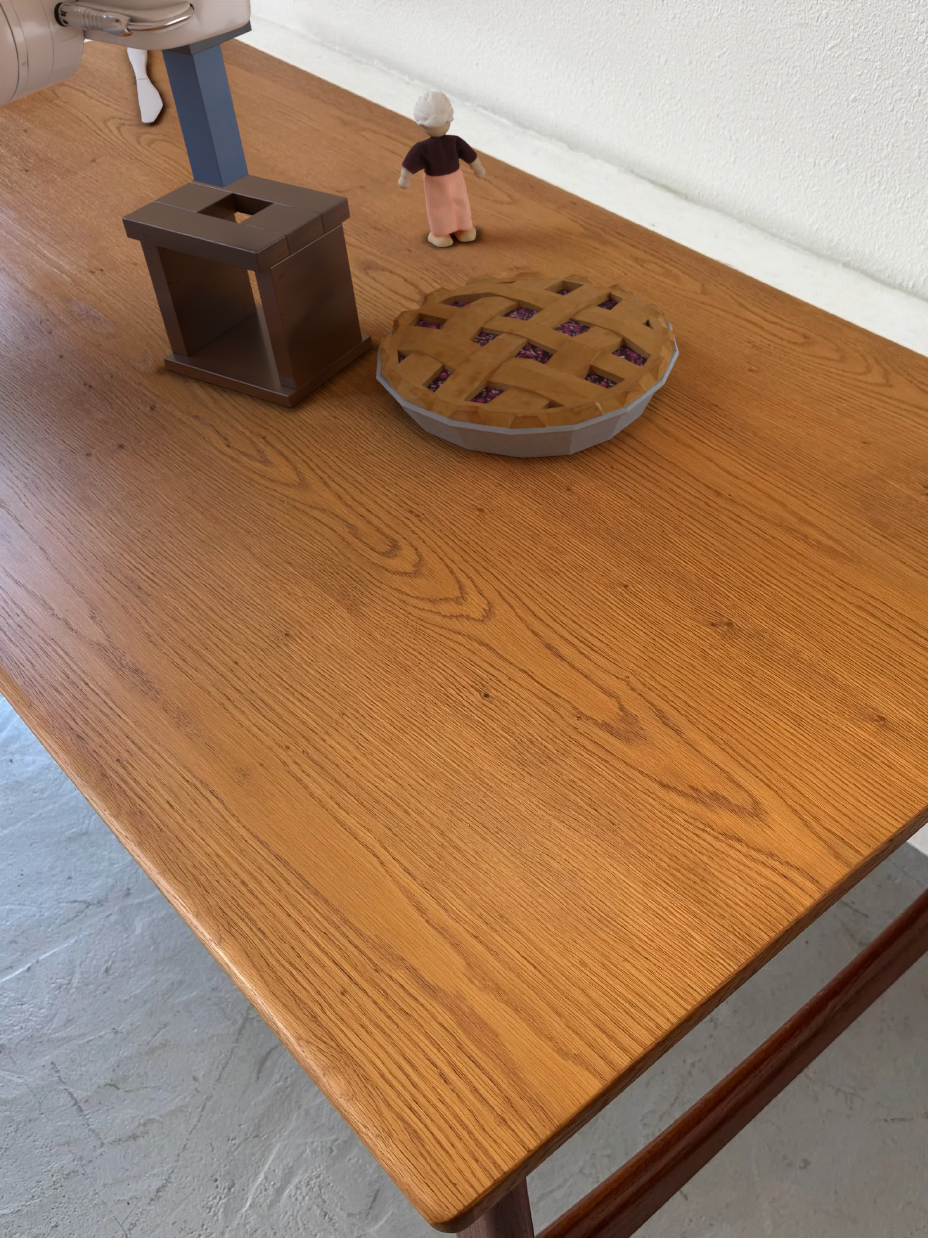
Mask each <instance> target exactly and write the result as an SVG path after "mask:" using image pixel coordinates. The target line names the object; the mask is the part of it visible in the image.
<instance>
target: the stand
mask: <svg viewBox="0 0 928 1238" xmlns="http://www.w3.org/2000/svg"><path fill="white" fill-rule="evenodd" d="M350 211H351V210H350V205H349V199H348V197H346V196H342V195H337V194H333V193H329V192H325V191H321V190H316V189H312V188H307V187H303V186H298V185H296V184H295V185H294V184H290V183H286V182H283V181H278V180H273V179H269V178H265V177H261V176H256V175H252V174H248V175H246V176H244V177H242V178H240V179H238V180H237V181H235V182H233V183H231V184H229V185H227V186H225V187H219V186H215V185H211V184H206V183H202V182H198V181H195V180H194V179H193V180H191V181H190V182H187V183H184V184H183V185H182V186H179V187H178V188H175V189H174V190H172V191H169V192H168V193H166V194H163V195H162V196H160V197H158V198H157V199H154V200H153V201H151V202H149V203H147V204H146V205H143V206H142V207H141V206H140V207H139V208H138V209H136V210H134V211H132V212H130V213H127V214H125V215H124V216H122V217H121V221H122V224H123V227H124V231H125V234H126V237H127V238H128V239H131V240H135V241H138V242H139V243H140V246H141V250H142V253H143V255H144V256H143V257H144V261H145V263H146V267H147V270H148V273H149V276H150V280H151V284H152V287H153V288H152V289H153V291H154V294H155V298H156V301H157V305H158V308H159V312H160V314H161V318H162V321H163V325H164V329H165V332H166V335H167V339H168V342H169V343H168V344H169V346H170V350H171V352H170V353H169V354H167V355H166V356H164V357H162V358H163V362H164V366H165V369H166V370H167V371H170V372H174V373H177V374H180V375H184V376H186V377H190V378H193V379H196V380H200V381H203V382H206V383H209V384H213V385H216V386H219V387H222V388H225V389H228V390H232V391H235V392H239V393H242V394H244V395H248V396H251V397H254V398H257V399H261V400H264V401H268V402H271V403H273V404H277V405H280V406H283V407H286V408H290V409H291V408H293V407H294V406H295V405H297V404H298V403H300V402H301V401H302V400H303V399H305V398H307V397H308V396H309V395H310V394H312V393H313V392H315V391H316V390H317V389H319V388H320V387H321V386H322V385H323V384H325V383H326V382H328V381H329V380H330V379H332V378H333V377H335V376H336V375H337V374H338V373H340V372H341V371H342V370H343V369H345V368H346V367H348V366H349V365H350V364H352V363H353V362H354V361H356V360H357V359H359V358H360V357H361V356H362V355H364V354H365V353H367V352H368V351H369V350H371V349H373V341H372V336H371V335H369V334H364V333H362V329H361V324H360V319H359V313H358V306H357V301H356V295H355V290H354V289H355V288H354V284H353V277H352V271H351V266H350V260H349V254H348V249H347V242H346V238H345V232H344V226H343V223H344V222H345V221H347V220H349V219H350V218H351V212H350ZM237 213H240V214H244V215H248V216H249V217H247V218H246V219H244V220H242V221H241V222H237V219H236V215H235V214H237ZM249 271H251V272H254V276H255V281H256V284H257V289H258V293H259V297H260V302H261V304H257V303H256V299H255V295H254V291H253V288H252V287H253V286H252V284H251V278H250V273H249Z"/></svg>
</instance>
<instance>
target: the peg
mask: <svg viewBox="0 0 928 1238" xmlns="http://www.w3.org/2000/svg"><path fill="white" fill-rule="evenodd" d="M252 31H253V28H252V23H251V18H250V19H249V21H248V23H247V24H246V25H244V26H242V27H240V28H238V29H235V30H232V31H229V32H226V33H223V34H220V35H217V36H214V37H211V38H208V39H205V40H202V41H198V42H195V43H192V44H188V45H184V46H181V47H176V48H171V49H164V50H161V53H162V57H163V62H164V66H165V70H166V75H167V78H168V82H169V85H170V91H171V93H172V97H173V102H174V106H175V110H176V114H177V117H178V122H179V125H180V130H181V134H182V137H183V138H182V139H183V141H184V146H185V150H186V153H187V158H188V162H189V165H190V170H191V173H192V179H193V180H195V181H198V182H202V183H206V184H211V185H215V186H219V187H225V186H227V185H229V184H231V183H233V182H235V181H237V180H238V179H240V178H242V177H244V176H246V175H249V170H248V165H247V161H246V156H245V152H244V151H245V150H244V147H243V142H242V138H241V133H240V128H239V125H238V120H237V114H236V110H235V107H234V101H233V97H232V92H231V87H230V83H229V79H228V74H227V70H226V64H225V60H224V56H223V51H222V47H221V44H224V43H227V42H229V41H231V40H234V39H235V38H237V37H240V36H242V35H245V34H247V33H250V32H252Z"/></svg>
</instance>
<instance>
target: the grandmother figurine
mask: <svg viewBox="0 0 928 1238" xmlns="http://www.w3.org/2000/svg"><path fill="white" fill-rule="evenodd" d="M454 114H455V110H454V108H453V105H452V103H451V100H450V99H449V97H448V96H447V94H445V93H444V92H442V91H438V90H429V91H426V92H425V93H423V94H422V95H420V96H419V97H418V99H417V100H416V102H415V105H414V109H413V117H414V120H415V122H416V124H417V125H418V126H419V127H420V128H421V129H422V131H423V132H424V133H425V134H426V135H427V136H428V138H426V139H423V140H419V141H418V142H416V143H414V144H413V145H412V147H411V148H410V149H409V150H408V152H407V154H406V155H405V157H404V159H403V161H402V163H401V166H402V167H401V171H400V177H399V179H398V180H397V184H398V187H399V188H401V189H403V190H407V189H410V186H411V181H412V179H413V177H414V175H415V174H417V173H418V172H420V171H423V179H422V180H423V181H422V182H423V189H424V190H423V191H424V197H425V198H424V199H425V207H426V213H427V219H428V225H429V229H430V232H429V233H428V236H427V240H428V242H430V243H431V244H432V245H434V246H436V247H438V248H446V247H449V246H452V245H453V243H454V241H453V239H452V237H451V235H450V234H452V233H454V235H455V237H456V239H457V240H458V241H459V242H461V243H462V242H463V243H466V242H472V241H474V240H476V236H477V228H476V227H475V226H474V225H473V219H472V213H471V205H470V200H469V195H468V190H467V187H466V186H467V185H466V181H465V177H464V173H463V170H462V168H461V165H460V160H462V161H463V162H464V163H466V164H467V165H468V166H469V168H470V170H472V171H473V175H474V176H475V178H477V179H484V178H485V176H486V174H487V171H486V169H485V167H484V166H483V165H482V162H481V160H480V159H479V156H478V153H477V152H476V151H475V150H474V149H473V148H472V146H470V144H469V143H468V142H467V141H466V140H465V139H464V138H462V137H460V136H459V135H455V134H447V133H448V132H449V130H450V128H451V123H453V121H454V120H455V118H454Z"/></svg>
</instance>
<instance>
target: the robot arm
mask: <svg viewBox="0 0 928 1238" xmlns="http://www.w3.org/2000/svg"><path fill="white" fill-rule="evenodd" d="M251 14H252V5H251V0H0V108H2V107H4V106H7V105H9V104H11V103H14V102H16V101H18V100H22V99H24V98H25V97H28V96H31V95H34V94H36V93H39V92H41V91H44V90H46V89H49V88H51V87H54V86H56V85H58V84H62V83H64V82H66V81H68V80H69V79H71V78H72V77H73V76H74V75H75V74H76V73H77V71H78V69H79V68H80V66H81V63H82V60H83V55H84V49H85V40H88V41H94V42H99V43H103V44H108V45H114V46H118V47H124V48H127V47H128V48H133V49H140V50H147V51H162V50H164V49H171V48H176V47H181V46H184V45H188V44H192V43H195V42H198V41H202V40H205V39H208V38H211V37H214V36H217V35H220V34H223V33H226V32H229V31H232V30H235V29H238V28H240V27H242V26H244V25H246V24H247V23H248V21H249V19H250V20H251V16H252V15H251Z"/></svg>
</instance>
